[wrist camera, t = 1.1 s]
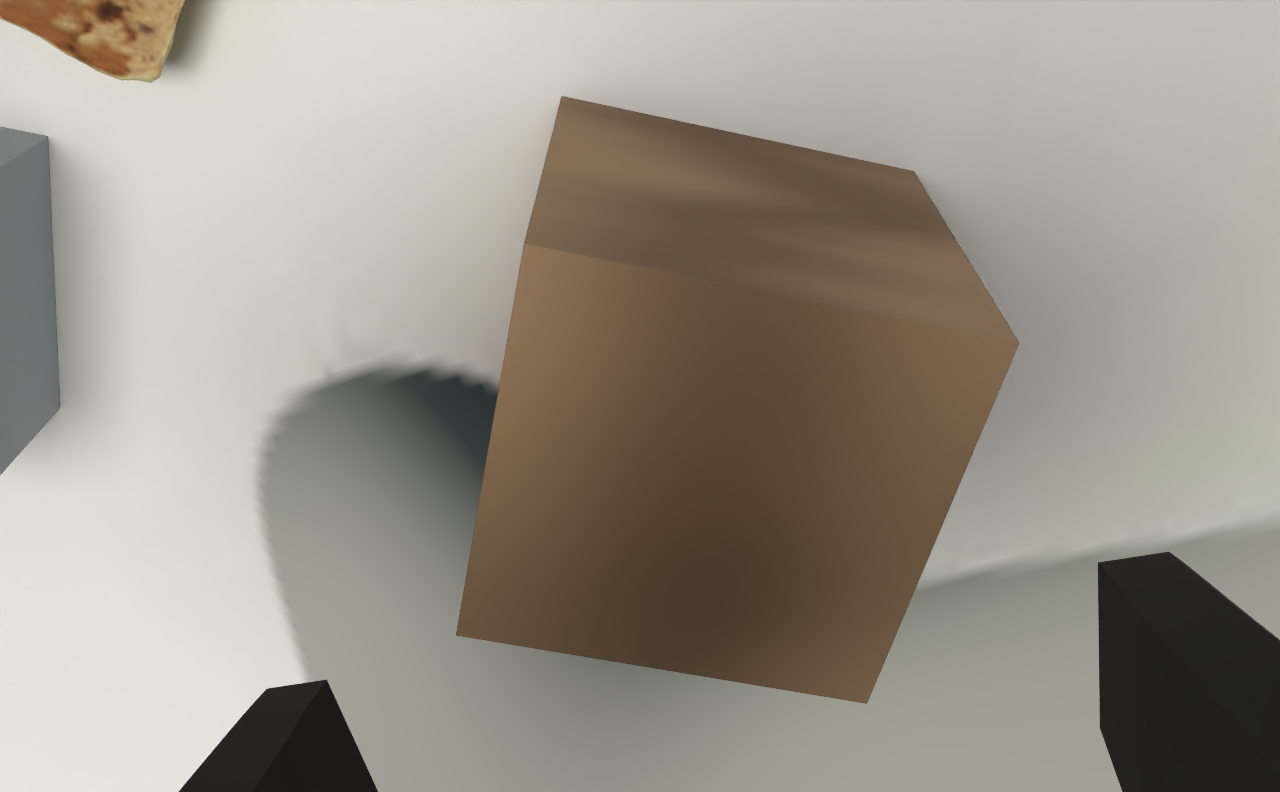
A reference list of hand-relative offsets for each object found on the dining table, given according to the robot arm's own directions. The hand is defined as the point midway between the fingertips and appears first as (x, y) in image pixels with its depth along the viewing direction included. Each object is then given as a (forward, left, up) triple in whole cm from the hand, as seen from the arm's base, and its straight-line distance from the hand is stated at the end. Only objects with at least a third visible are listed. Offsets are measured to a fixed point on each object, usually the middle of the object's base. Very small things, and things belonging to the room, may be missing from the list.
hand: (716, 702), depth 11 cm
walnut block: (0, 0, -10) cm, 10 cm away
